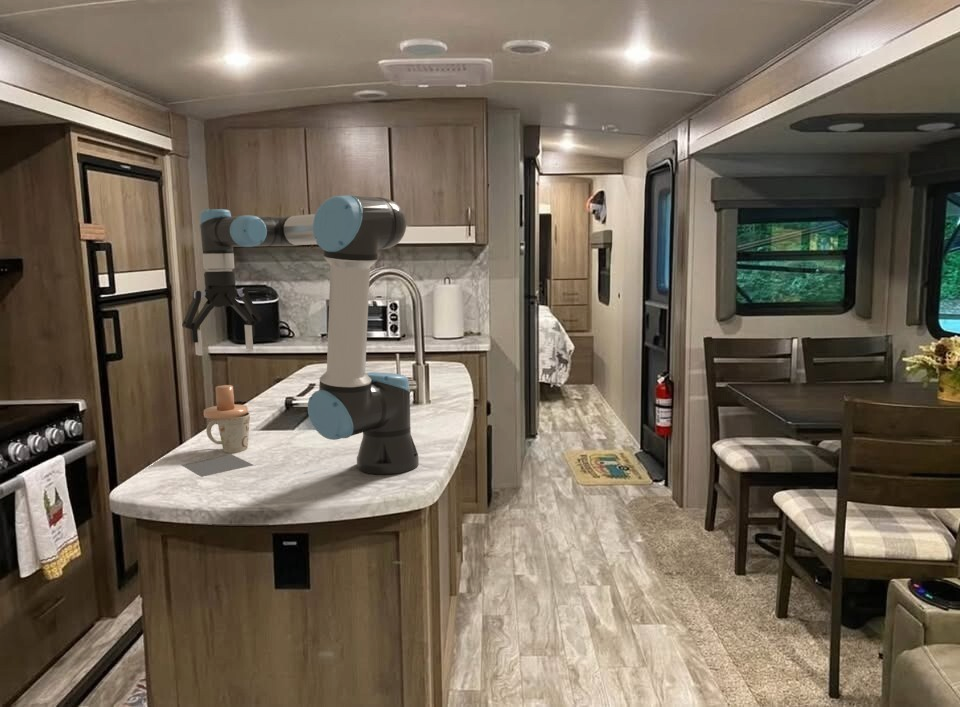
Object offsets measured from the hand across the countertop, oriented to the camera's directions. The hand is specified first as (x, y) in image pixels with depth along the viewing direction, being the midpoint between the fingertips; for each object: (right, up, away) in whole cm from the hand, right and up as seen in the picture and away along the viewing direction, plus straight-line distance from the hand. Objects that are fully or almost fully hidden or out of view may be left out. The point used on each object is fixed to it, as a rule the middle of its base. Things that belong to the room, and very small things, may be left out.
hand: (225, 352), depth 195 cm
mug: (-1, -27, +4) cm, 27 cm away
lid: (-1, -16, +3) cm, 17 cm away
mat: (+2, -28, -10) cm, 30 cm away
